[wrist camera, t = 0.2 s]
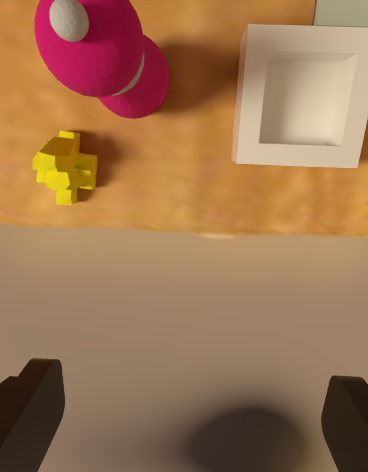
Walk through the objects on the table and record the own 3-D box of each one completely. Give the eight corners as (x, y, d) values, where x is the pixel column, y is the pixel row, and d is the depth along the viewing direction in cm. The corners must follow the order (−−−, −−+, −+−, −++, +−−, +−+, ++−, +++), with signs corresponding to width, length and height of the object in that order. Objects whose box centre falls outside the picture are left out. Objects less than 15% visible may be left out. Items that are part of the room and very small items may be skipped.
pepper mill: (186, 85, 33) (175, 13, 14) (140, 134, 34) (73, 132, 15) (137, 29, 31) (48, -138, 12) (91, 84, 33) (-49, 12, 14)
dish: (240, 39, 31) (248, 23, 27) (359, 42, 31) (386, 28, 27) (231, 160, 35) (236, 163, 31) (337, 164, 35) (357, 168, 30)
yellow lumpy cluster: (46, 196, 37) (9, 211, 30) (47, 127, 35) (8, 125, 27) (94, 204, 37) (69, 221, 30) (99, 136, 35) (73, 136, 27)
